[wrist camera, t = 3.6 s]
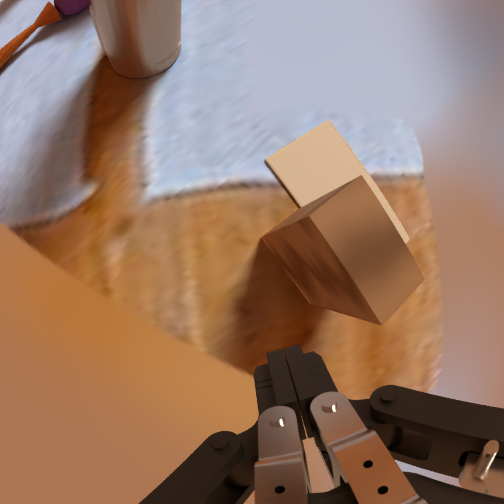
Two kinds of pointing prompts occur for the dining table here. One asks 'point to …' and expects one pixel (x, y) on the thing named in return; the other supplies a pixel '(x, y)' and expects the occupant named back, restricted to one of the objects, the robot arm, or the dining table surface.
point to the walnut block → (347, 254)
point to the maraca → (43, 23)
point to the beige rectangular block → (323, 168)
